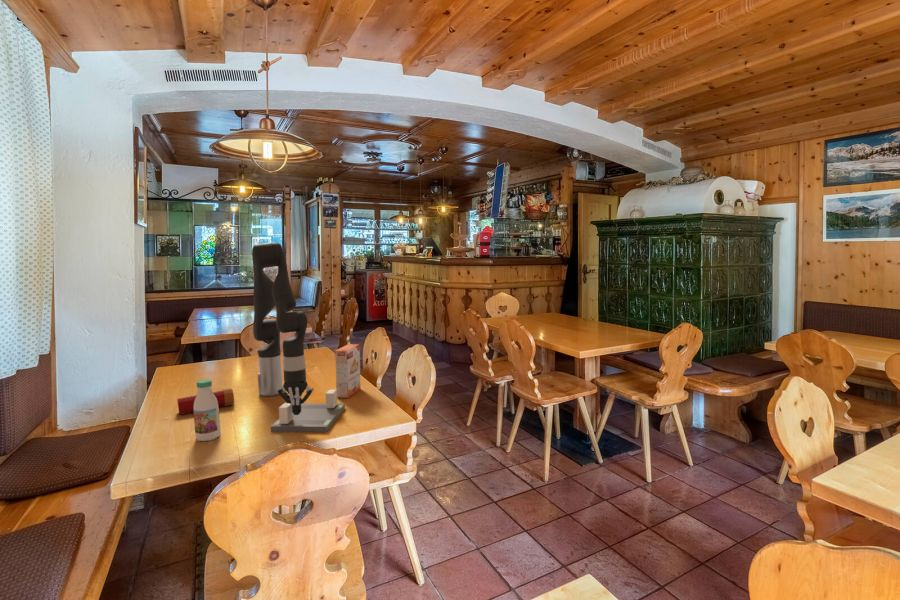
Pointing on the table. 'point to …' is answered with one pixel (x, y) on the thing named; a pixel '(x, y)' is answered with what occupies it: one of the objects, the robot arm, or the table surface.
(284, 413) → the beige rectangular block
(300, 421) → the breaker panel
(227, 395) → the red tube
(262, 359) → the robot arm
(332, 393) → the handle
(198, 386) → the milk bottle
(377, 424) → the table surface
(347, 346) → the cracker box
